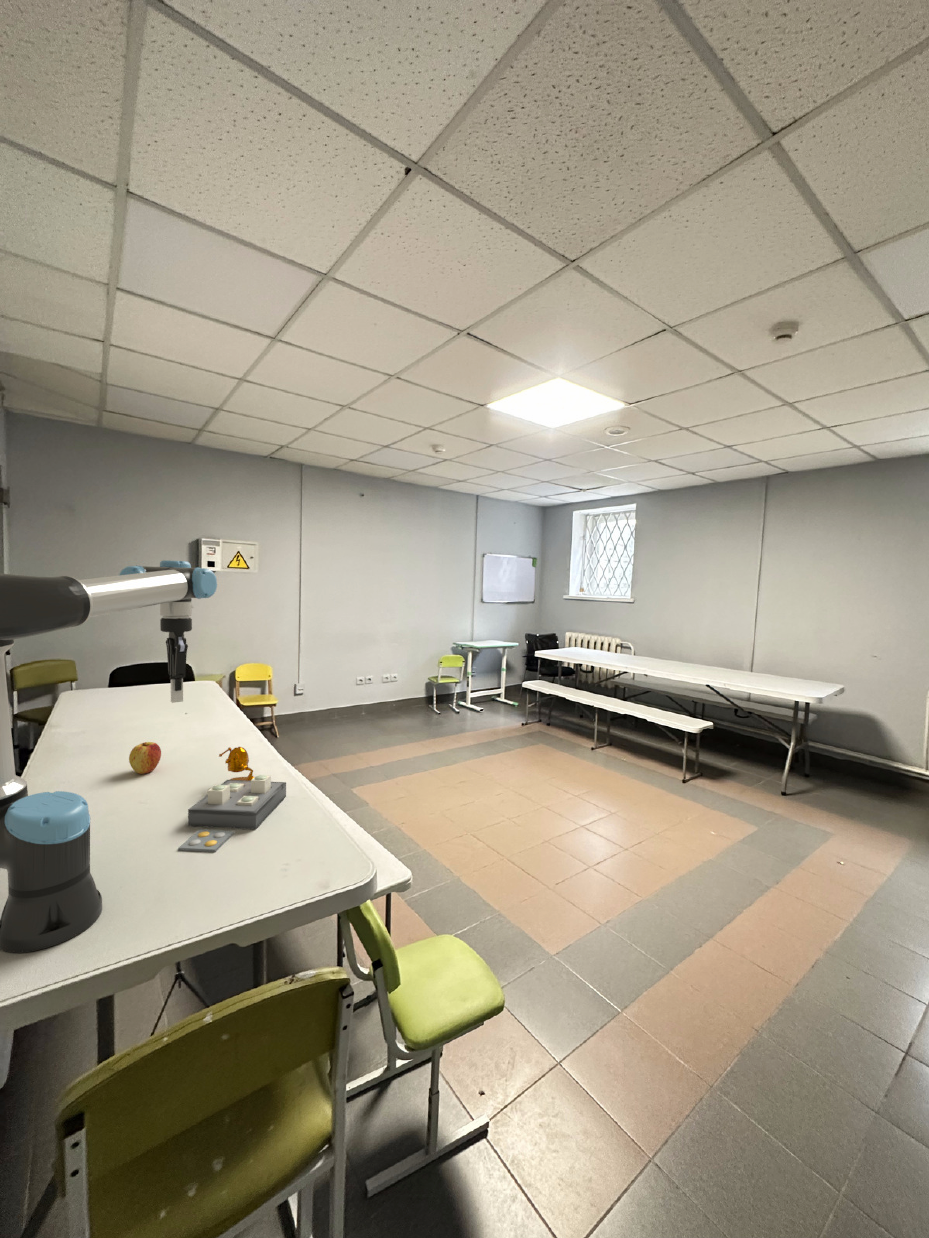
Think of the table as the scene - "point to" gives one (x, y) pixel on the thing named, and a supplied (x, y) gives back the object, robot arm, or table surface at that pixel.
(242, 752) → the figurine
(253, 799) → the button near right
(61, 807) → the robot arm
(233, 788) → the button far left
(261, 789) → the button far right
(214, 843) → the card
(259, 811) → the button box
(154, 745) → the apple
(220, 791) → the button near left
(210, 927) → the table surface
